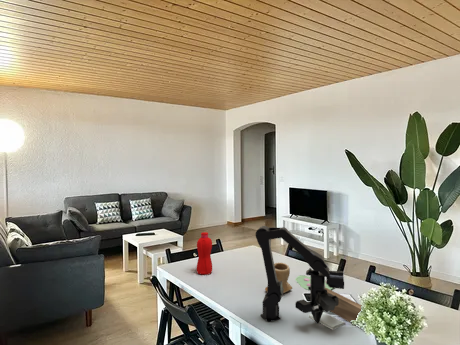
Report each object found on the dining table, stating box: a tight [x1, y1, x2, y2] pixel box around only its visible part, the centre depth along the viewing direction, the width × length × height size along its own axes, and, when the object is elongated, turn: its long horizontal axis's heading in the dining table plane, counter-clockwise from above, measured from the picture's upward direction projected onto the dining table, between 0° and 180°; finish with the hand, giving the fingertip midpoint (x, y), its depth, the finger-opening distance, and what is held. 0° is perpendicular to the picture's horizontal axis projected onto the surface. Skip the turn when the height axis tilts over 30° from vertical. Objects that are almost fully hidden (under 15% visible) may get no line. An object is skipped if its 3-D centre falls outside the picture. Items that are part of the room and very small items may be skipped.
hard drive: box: [308, 311, 346, 331], centre depth 129 cm, size 2×8×12 cm
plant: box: [294, 275, 334, 291], centre depth 171 cm, size 25×21×9 cm
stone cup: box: [264, 262, 293, 294], centre depth 159 cm, size 15×12×15 cm
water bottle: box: [196, 232, 213, 276], centre depth 188 cm, size 9×11×25 cm
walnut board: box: [325, 288, 363, 323], centre depth 132 cm, size 3×26×8 cm, turn 26°
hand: (317, 323), depth 126 cm, fingers closed
